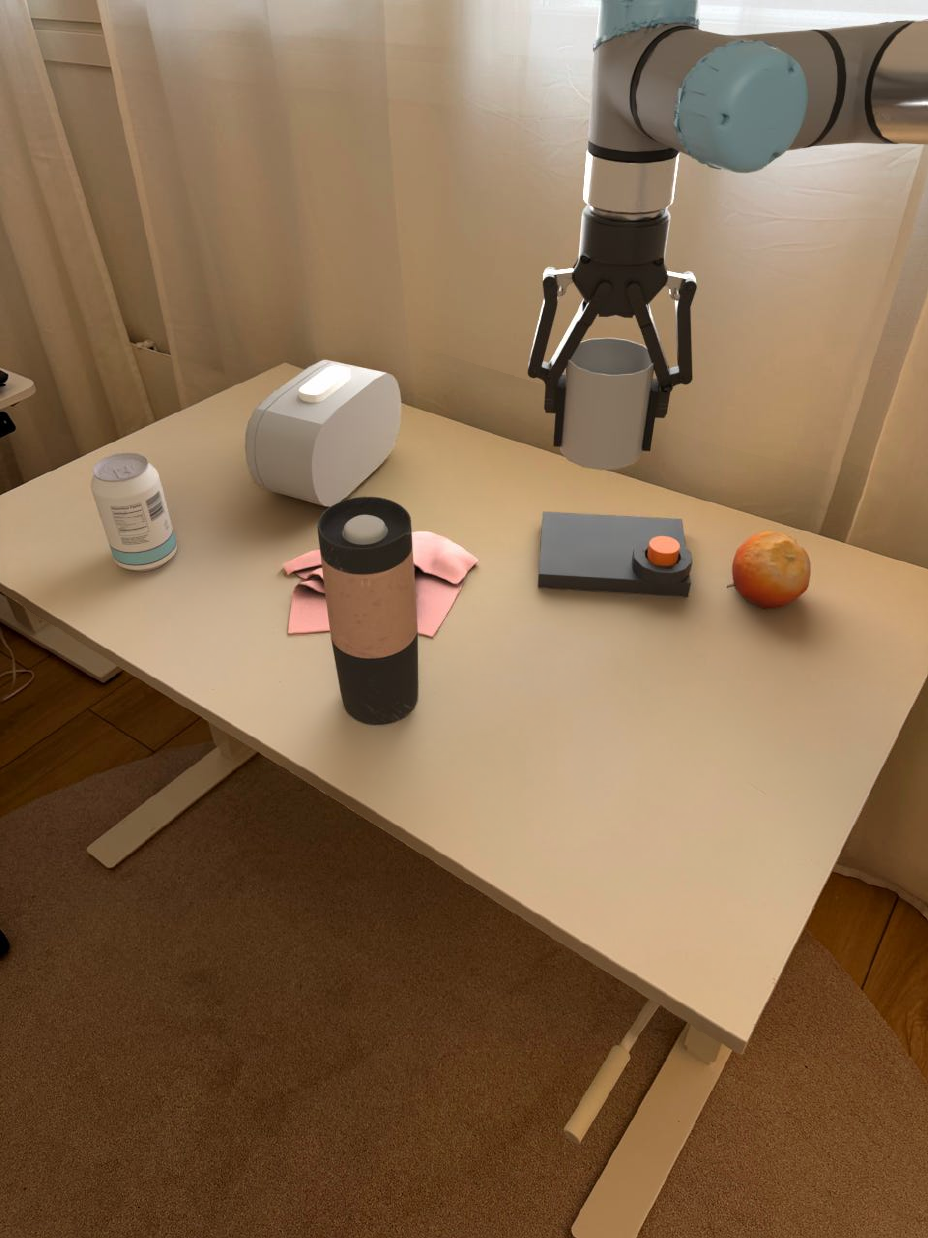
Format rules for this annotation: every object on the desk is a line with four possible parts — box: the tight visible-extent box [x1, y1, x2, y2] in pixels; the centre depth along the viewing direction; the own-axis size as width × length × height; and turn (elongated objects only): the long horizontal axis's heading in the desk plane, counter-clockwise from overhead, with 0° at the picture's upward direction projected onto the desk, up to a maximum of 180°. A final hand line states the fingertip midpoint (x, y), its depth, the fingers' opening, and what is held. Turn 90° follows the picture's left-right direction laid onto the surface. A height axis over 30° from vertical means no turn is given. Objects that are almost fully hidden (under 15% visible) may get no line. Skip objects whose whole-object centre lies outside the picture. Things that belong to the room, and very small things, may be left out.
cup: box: [559, 337, 655, 471], centre depth 88 cm, size 8×8×10 cm
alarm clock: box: [244, 359, 402, 508], centre depth 109 cm, size 21×10×13 cm, turn 154°
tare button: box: [647, 536, 680, 566], centre depth 94 cm, size 3×3×2 cm
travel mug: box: [317, 496, 419, 726], centre depth 77 cm, size 8×8×20 cm
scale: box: [537, 511, 693, 598], centre depth 99 cm, size 16×13×4 cm
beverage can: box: [90, 452, 178, 572], centre depth 97 cm, size 7×7×12 cm
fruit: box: [726, 530, 812, 610], centre depth 93 cm, size 8×8×8 cm
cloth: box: [282, 530, 480, 638], centre depth 96 cm, size 20×22×2 cm
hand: (601, 441), depth 91 cm, fingers closed on cup, 8 cm apart
